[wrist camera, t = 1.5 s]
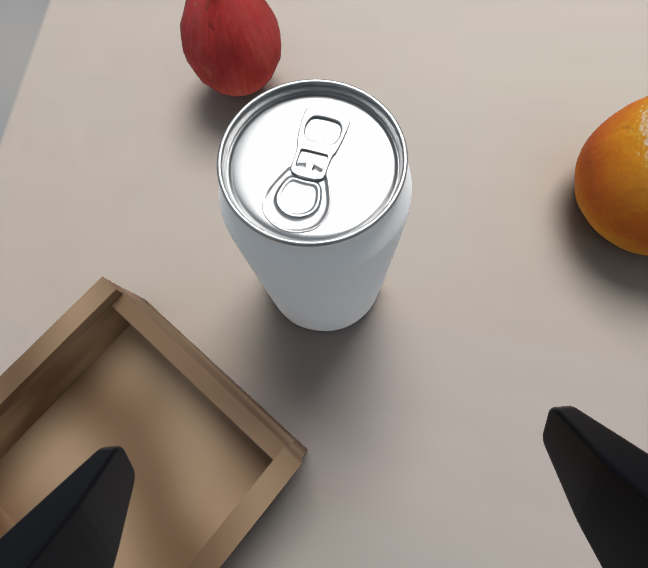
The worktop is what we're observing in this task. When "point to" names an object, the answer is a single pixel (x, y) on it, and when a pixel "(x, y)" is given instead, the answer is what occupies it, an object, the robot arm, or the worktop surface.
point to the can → (316, 197)
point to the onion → (231, 43)
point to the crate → (141, 431)
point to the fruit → (617, 178)
